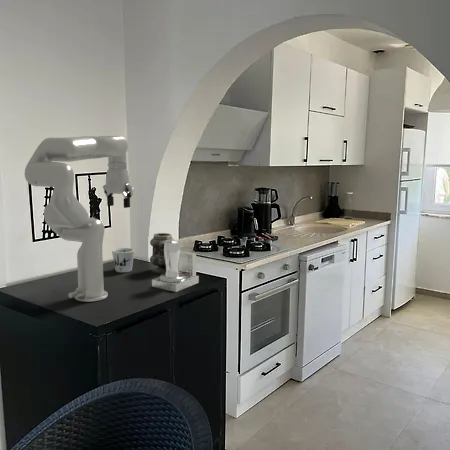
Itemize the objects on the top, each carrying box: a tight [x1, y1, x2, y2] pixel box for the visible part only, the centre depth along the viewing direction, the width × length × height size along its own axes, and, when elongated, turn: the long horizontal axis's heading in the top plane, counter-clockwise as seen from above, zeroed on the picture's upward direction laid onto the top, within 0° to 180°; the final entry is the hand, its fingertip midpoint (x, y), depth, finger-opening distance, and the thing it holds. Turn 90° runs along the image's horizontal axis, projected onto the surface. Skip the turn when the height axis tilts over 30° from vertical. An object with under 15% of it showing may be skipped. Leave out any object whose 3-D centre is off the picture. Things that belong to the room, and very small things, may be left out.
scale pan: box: [159, 273, 186, 282], centre depth 198 cm, size 12×11×1 cm
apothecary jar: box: [149, 232, 175, 275], centre depth 220 cm, size 12×12×18 cm
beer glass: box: [164, 239, 181, 278], centre depth 196 cm, size 7×7×15 cm
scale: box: [151, 250, 200, 293], centre depth 199 cm, size 16×13×13 cm
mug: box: [111, 247, 135, 273], centre depth 223 cm, size 10×15×10 cm
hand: (118, 206), depth 198 cm, fingers open, 9 cm apart
